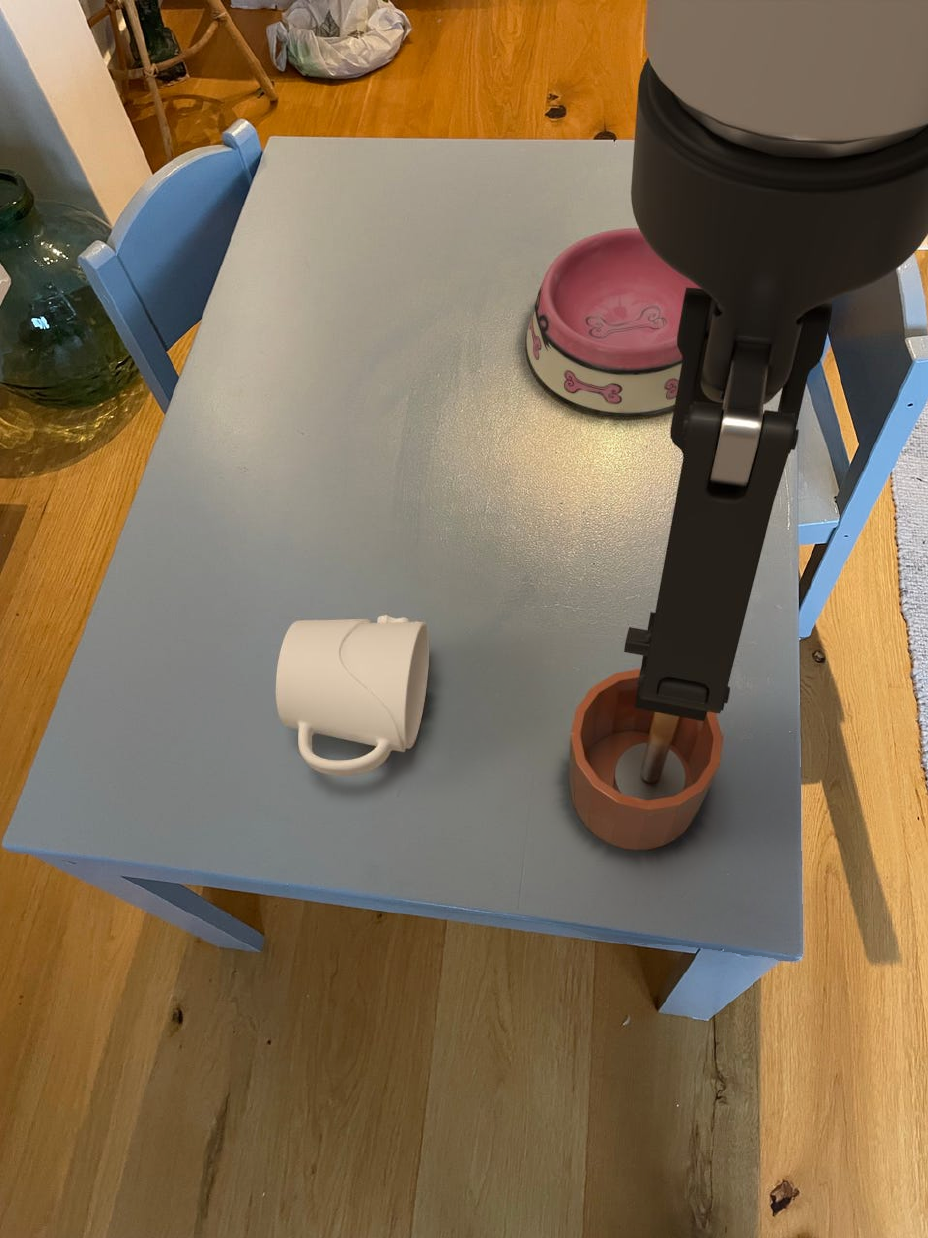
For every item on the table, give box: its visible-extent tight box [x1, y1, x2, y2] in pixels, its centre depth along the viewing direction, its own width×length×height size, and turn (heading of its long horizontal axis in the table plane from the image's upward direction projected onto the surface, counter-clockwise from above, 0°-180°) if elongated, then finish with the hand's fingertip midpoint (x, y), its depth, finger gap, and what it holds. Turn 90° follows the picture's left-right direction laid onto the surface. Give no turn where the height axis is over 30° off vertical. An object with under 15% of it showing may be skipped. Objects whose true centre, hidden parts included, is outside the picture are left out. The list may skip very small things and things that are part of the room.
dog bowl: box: [524, 227, 702, 419], centre depth 83 cm, size 18×19×7 cm
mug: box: [275, 614, 430, 777], centre depth 68 cm, size 12×9×8 cm
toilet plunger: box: [613, 712, 686, 800], centre depth 57 cm, size 5×5×21 cm
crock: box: [568, 668, 724, 851], centre depth 62 cm, size 9×9×10 cm
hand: (694, 561), depth 39 cm, fingers open, 13 cm apart
